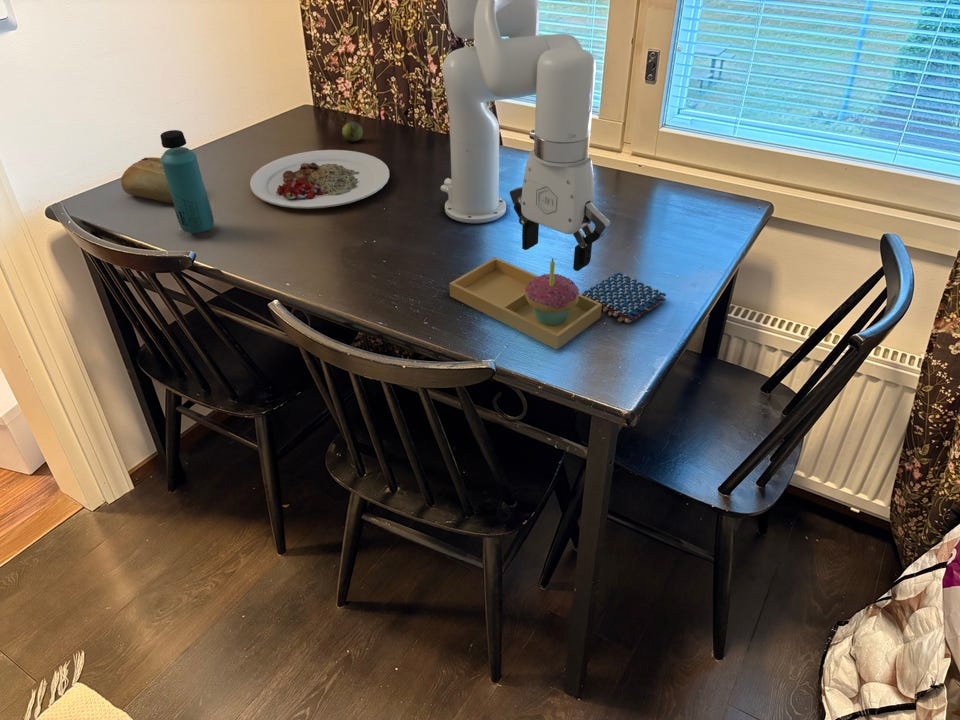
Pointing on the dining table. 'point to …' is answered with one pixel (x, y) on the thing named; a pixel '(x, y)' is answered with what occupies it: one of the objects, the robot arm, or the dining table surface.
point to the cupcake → (551, 297)
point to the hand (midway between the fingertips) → (555, 256)
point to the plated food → (319, 179)
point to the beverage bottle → (185, 184)
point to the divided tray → (519, 302)
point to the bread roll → (147, 180)
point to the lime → (352, 131)
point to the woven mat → (625, 297)
